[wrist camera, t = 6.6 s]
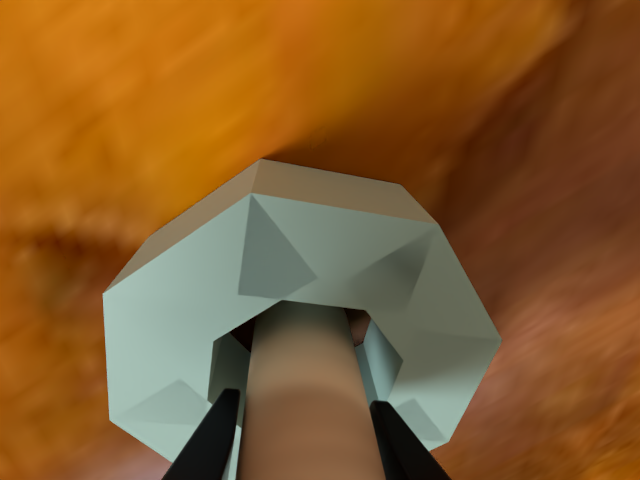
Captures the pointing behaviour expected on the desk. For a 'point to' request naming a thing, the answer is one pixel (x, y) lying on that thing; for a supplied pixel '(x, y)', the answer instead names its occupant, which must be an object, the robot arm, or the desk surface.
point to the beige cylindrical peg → (306, 400)
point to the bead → (292, 285)
